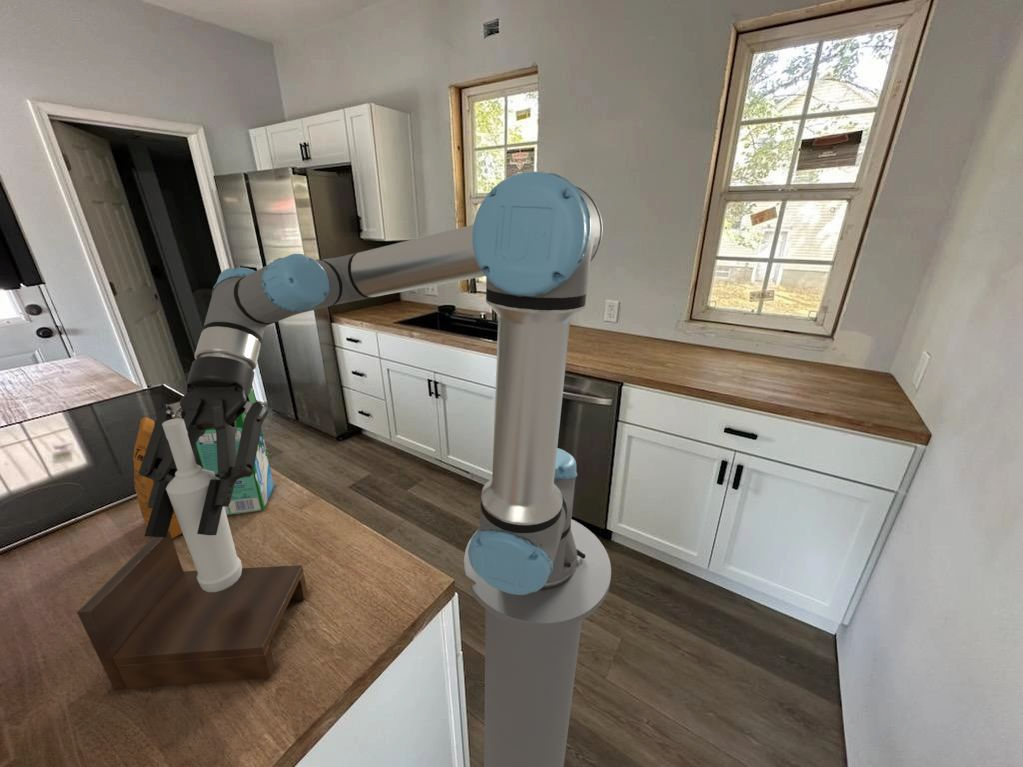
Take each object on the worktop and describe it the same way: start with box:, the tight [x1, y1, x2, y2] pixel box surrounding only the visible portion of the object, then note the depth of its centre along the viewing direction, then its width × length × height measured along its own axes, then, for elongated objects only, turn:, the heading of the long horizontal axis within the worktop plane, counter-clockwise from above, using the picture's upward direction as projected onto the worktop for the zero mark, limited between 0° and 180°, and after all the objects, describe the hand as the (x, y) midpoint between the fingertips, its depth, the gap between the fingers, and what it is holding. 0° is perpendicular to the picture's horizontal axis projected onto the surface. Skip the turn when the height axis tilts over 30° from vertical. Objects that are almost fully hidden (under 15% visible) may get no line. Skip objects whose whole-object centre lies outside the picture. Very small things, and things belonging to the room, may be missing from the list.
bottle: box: [162, 417, 243, 592], centre depth 54 cm, size 5×5×25 cm
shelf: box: [76, 531, 308, 691], centre depth 59 cm, size 20×14×14 cm
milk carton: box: [193, 387, 275, 516], centre depth 86 cm, size 9×9×25 cm
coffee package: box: [133, 416, 183, 540], centre depth 80 cm, size 10×12×22 cm
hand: (181, 535), depth 50 cm, fingers closed on bottle, 5 cm apart
